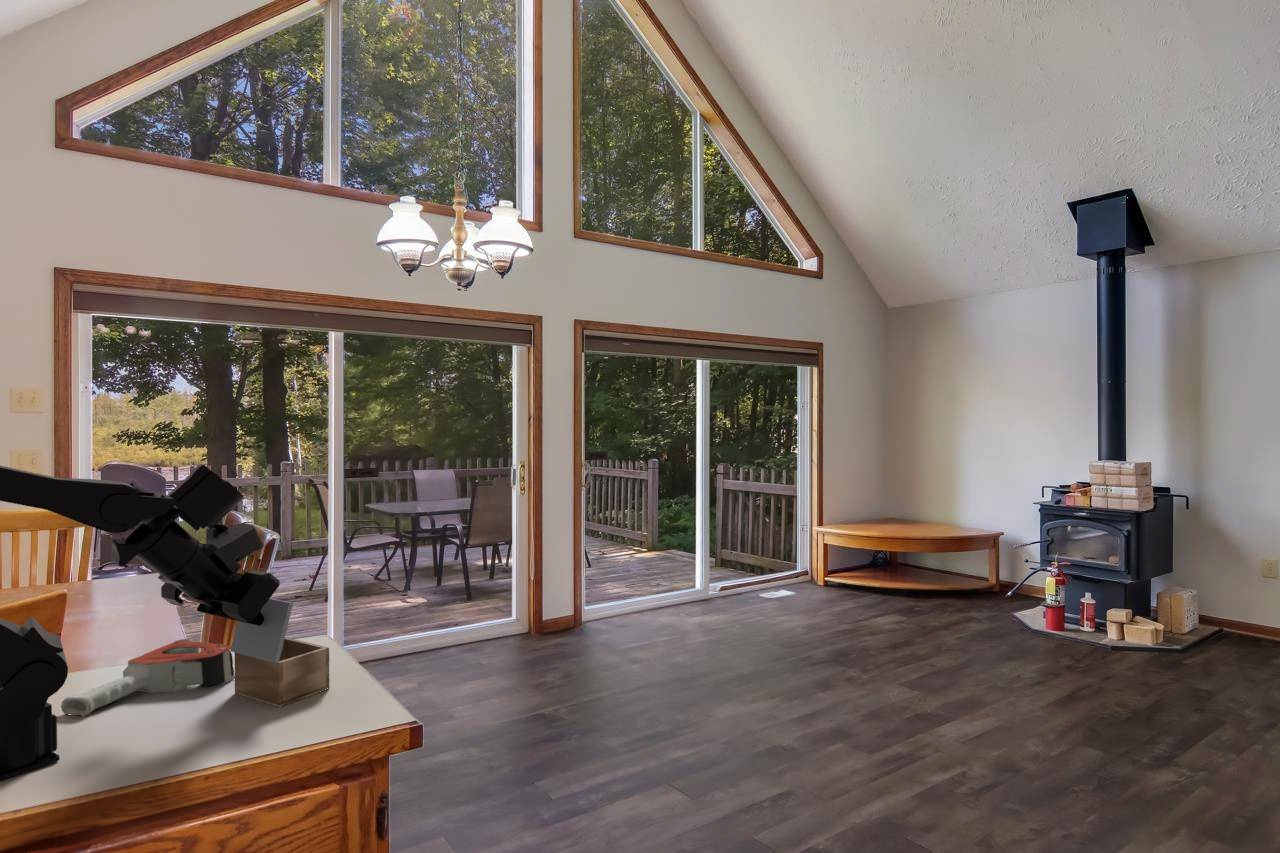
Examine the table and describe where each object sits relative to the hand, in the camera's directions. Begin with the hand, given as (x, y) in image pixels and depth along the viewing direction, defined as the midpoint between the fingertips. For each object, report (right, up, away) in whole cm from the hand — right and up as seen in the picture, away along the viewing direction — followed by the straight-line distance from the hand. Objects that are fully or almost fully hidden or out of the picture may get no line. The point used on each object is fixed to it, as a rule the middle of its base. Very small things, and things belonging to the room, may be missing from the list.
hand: (261, 622), depth 107 cm
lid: (0, -1, 0) cm, 1 cm away
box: (+1, -11, +3) cm, 11 cm away
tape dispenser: (-17, -11, +5) cm, 21 cm away
